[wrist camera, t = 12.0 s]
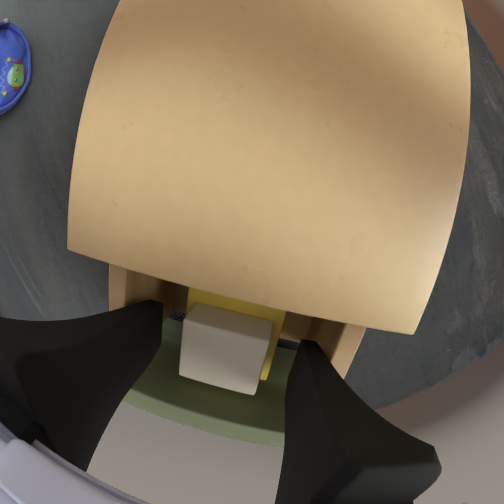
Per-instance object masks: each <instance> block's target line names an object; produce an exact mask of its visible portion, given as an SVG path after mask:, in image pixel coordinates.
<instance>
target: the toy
mask: <svg viewBox="0 0 504 504" xmlns="http://www.w3.org/2000/svg"><path fill="white" fill-rule="evenodd" d="M286 313H287V311H285V310H280V309H276V308H272V307H267V306H263V305H259V304H254V303H250V302H246V301H242V300H238V299H234V298H230V297H226V296H222V295H218V294H214V293H211V292H207V291H203V290H199V289H195V288H192V287H189V291H188V300H187V308H186V317H185V318H184V320H183V328H182V339H181V350H180V363H179V375H181V376H184V377H187V378H190V379H194V380H197V381H200V382H204V383H207V384H211V385H214V386H218V387H222V388H225V389H229V390H233V391H237V392H241V393H245V394H250V395H254V394H255V393H256V390H257V387H258V383H259V380H260V379H261V380H266V379H267V376H268V373H269V370H270V366H271V363H272V360H273V357H274V354H275V350H276V347H277V344H278V340H279V337H280V334H281V330H282V327H283V323H284V320H285V316H286Z"/></svg>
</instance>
